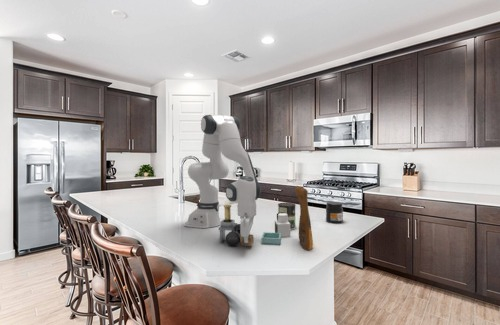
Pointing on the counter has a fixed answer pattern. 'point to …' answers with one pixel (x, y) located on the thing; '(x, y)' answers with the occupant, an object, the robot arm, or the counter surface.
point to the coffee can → (288, 212)
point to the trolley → (230, 233)
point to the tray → (271, 238)
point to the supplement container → (334, 212)
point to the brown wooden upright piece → (304, 220)
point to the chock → (250, 240)
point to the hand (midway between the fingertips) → (247, 240)
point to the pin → (227, 213)
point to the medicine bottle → (282, 224)
